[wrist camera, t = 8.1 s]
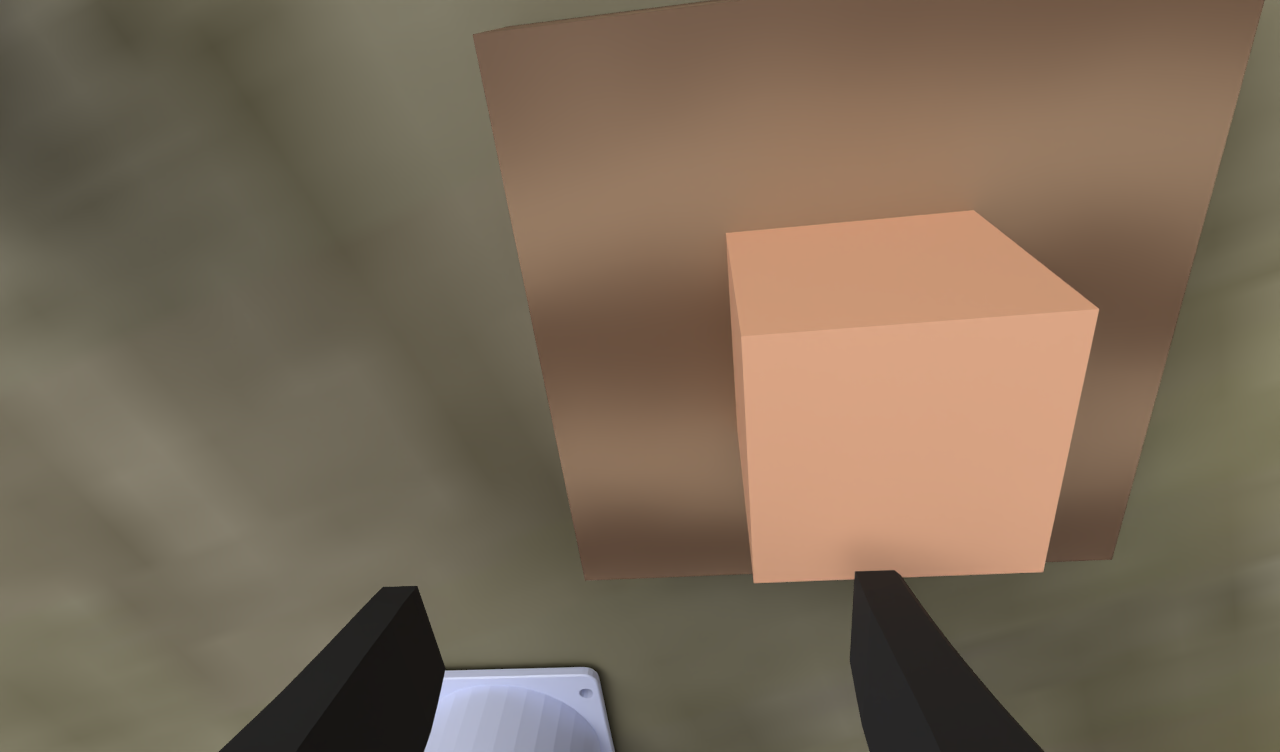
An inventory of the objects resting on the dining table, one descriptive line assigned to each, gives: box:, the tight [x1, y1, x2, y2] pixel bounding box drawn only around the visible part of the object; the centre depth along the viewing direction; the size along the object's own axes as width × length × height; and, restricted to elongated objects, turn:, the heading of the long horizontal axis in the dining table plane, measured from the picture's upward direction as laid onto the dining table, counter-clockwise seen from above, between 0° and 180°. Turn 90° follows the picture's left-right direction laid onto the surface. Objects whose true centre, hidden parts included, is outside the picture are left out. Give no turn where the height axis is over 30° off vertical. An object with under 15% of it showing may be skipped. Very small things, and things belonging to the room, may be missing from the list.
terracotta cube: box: [726, 210, 1099, 583], centre depth 14 cm, size 5×5×5 cm
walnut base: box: [473, 0, 1265, 581], centre depth 17 cm, size 14×14×3 cm
